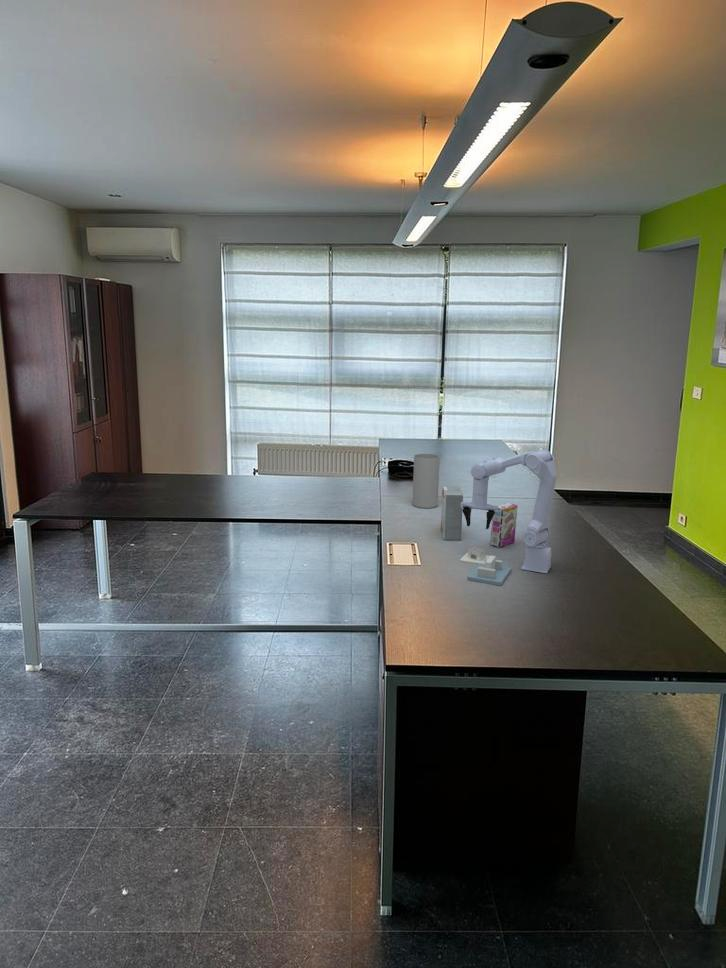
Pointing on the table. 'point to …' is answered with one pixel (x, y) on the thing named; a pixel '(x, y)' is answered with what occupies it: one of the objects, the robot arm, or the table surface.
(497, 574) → the bench vise
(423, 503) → the cylinder vase
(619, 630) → the table surface
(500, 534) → the candy bar box
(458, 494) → the hard drive box
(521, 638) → the table surface
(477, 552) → the grey notched block
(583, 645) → the table surface
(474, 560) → the cream mat
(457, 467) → the table surface
